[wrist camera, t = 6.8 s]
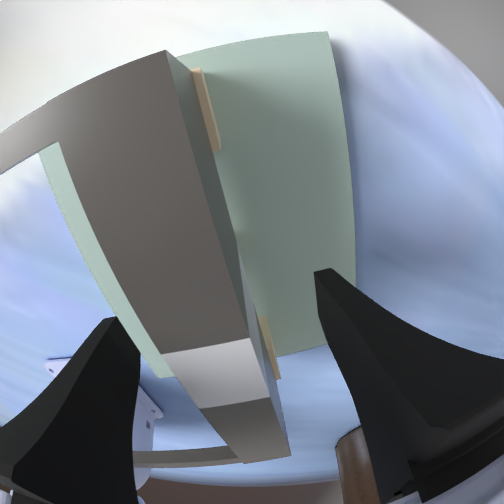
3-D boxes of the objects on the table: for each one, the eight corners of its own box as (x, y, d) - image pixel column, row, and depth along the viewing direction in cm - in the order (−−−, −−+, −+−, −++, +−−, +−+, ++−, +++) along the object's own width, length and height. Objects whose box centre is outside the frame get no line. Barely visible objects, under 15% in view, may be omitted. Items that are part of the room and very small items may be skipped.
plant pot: (366, 455, 39) (390, 530, 25) (295, 456, 34) (316, 554, 20) (441, 403, 33) (480, 485, 19) (384, 396, 28) (432, 518, 14)
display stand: (347, 321, 20) (367, 363, 17) (160, 362, 20) (155, 407, 17) (316, 36, 11) (351, 20, 8) (44, 119, 11) (-2, 132, 8)
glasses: (275, 380, 16) (291, 455, 12) (120, 402, 17) (110, 467, 12) (191, 71, 8) (165, 50, 4) (-23, 175, 8) (-96, 226, 4)
